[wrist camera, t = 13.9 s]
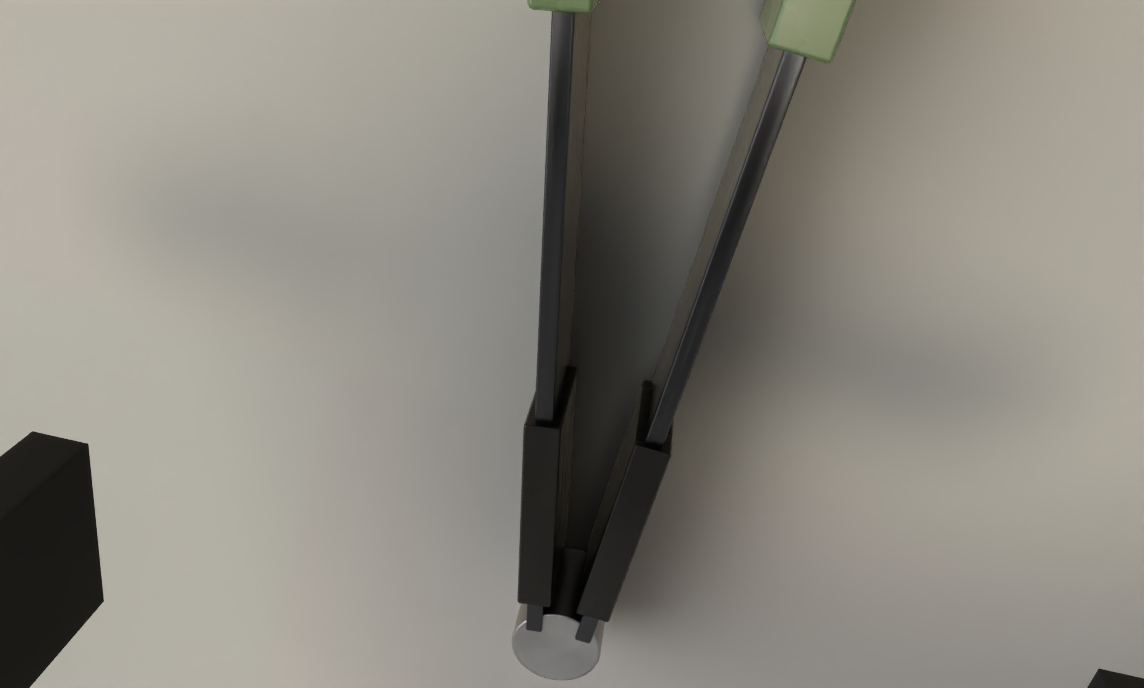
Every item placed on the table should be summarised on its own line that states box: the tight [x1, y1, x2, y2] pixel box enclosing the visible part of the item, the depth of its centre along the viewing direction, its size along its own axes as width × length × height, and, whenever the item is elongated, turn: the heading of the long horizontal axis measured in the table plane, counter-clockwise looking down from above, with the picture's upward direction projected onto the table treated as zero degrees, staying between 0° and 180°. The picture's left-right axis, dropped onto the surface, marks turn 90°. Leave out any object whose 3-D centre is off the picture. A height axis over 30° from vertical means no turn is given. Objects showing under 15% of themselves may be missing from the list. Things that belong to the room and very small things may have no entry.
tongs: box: [512, 0, 856, 680], centre depth 19 cm, size 19×6×3 cm, turn 171°
